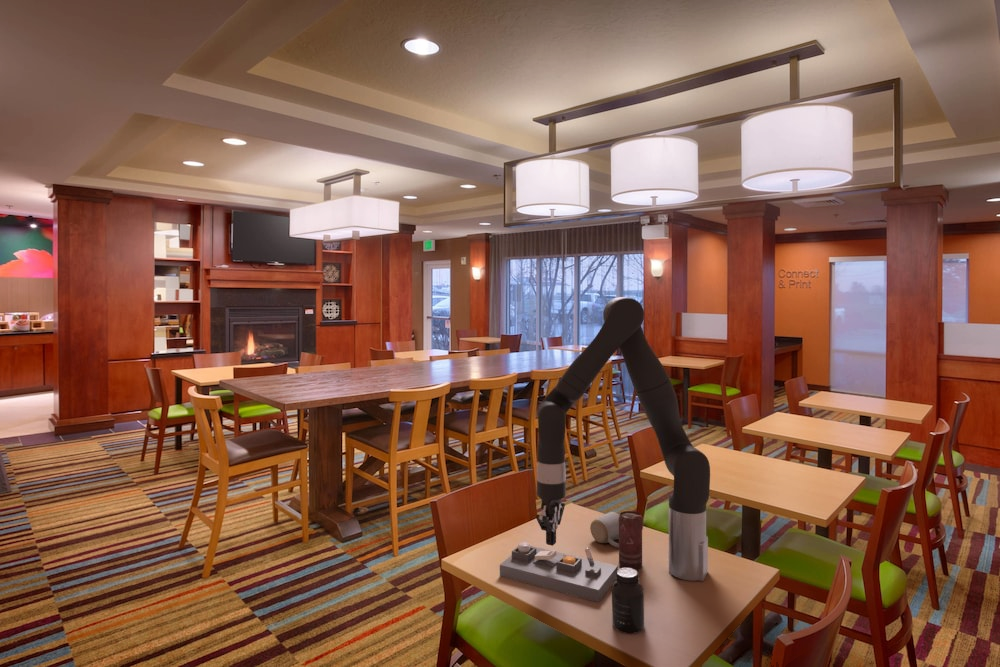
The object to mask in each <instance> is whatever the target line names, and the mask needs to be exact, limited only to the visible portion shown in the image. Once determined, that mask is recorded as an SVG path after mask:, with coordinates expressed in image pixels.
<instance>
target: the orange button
mask: <svg viewBox="0 0 1000 667" xmlns="http://www.w3.org/2000/svg"><path fill="white" fill-rule="evenodd" d="M572 556H573V555H572ZM572 556H565V557H563V563H567V564H571V565H574V564H575V558H574V557H572Z"/></svg>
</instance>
